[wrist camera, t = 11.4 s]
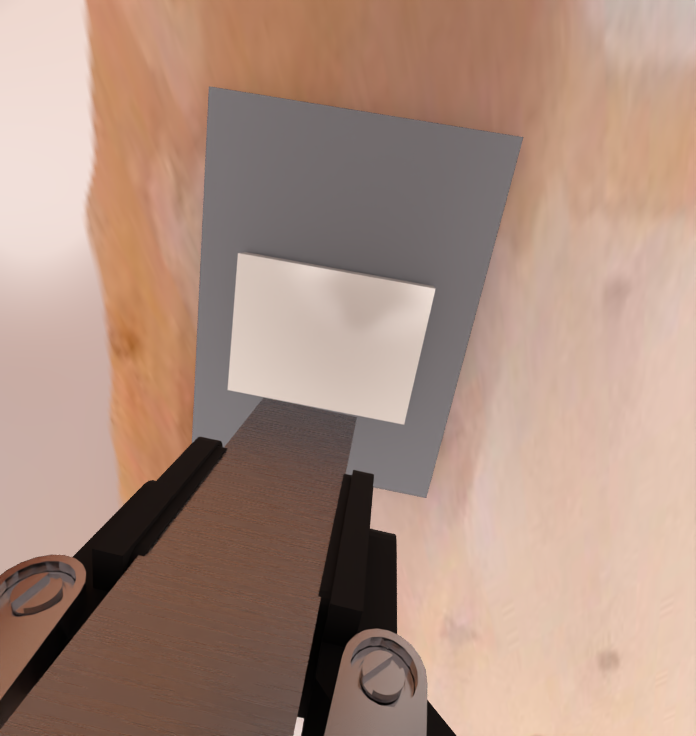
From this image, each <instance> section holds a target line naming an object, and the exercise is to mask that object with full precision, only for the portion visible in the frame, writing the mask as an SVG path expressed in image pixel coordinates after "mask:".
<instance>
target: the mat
mask: <svg viewBox="0 0 696 736" xmlns="http://www.w3.org/2000/svg"><path fill="white" fill-rule="evenodd" d="M522 140H523V137H519V136H513V135H506V134H500V133H494V132H488V131H482V130H475V129H469V128H463V127H457V126H451V125H444V124H438V123H432V122H426V121H420V120H414V119H407V118H401V117H395V116H389V115H383V114H376V113H370V112H364V111H358V110H352V109H345V108H339V107H333V106H327V105H321V104H315V103H308V102H302V101H296V100H290V99H284V98H277V97H271V96H265V95H259V94H253V93H246V92H240V91H234V90H228V89H222V88H215V87H209V96H208V117H207V138H206V159H205V180H204V201H203V222H202V243H201V264H200V285H199V307H198V328H197V349H196V370H195V391H194V412H193V433H192V443H193V442H194V441H195V440H196V439H197V438H198V437H205V438H210V439H214V440H219V441H221V442H222V445H223V447H225V445H226V444H227V443H228V442H229V440H230V439H231V438H232V437H233V435H234V434H235V433H236V432H237V430H238V429H239V428H240V427H241V425H242V424H243V423H244V422H245V420H246V419H247V418H248V416H249V415H250V414H251V413H252V411H253V410H254V409H255V408H256V406H257V405H258V404H259V403H260V401H261V400H262V399H263V398H266V397H261V396H256V395H251V394H246V393H241V392H236V391H230V390H228V378H229V365H230V351H231V338H232V325H233V312H234V299H235V285H236V272H237V259H238V253H242V252H248V253H253V254H259V255H264V256H270V257H276V258H281V259H287V260H292V261H298V262H303V263H309V264H314V265H320V266H325V267H331V268H337V269H342V270H348V271H353V272H359V273H364V274H370V275H375V276H381V277H387V278H392V279H398V280H403V281H409V282H414V283H420V284H425V285H431V286H434V287H435V294H434V298H433V302H432V307H431V311H430V315H429V319H428V324H427V328H426V332H425V337H424V341H423V345H422V350H421V354H420V358H419V362H418V367H417V371H416V375H415V380H414V384H413V388H412V392H411V397H410V401H409V405H408V410H407V414H406V418H405V423H404V425H403V424H398V423H393V422H388V421H383V420H378V419H373V418H368V417H363V416H358V415H352V414H347V413H342V412H337V411H332V410H327V409H322V408H317V407H312V406H307V405H302V404H297V403H293V404H297V405H302V406H307V407H312V408H316V409H321V410H326V411H330V412H335V413H340V414H345V415H349V416H354V417H357V420H356V425H355V430H354V435H353V440H352V445H351V450H350V455H349V460H348V465H347V470H346V474H348V475H352V472H353V470H357V471H362V472H366V473H371V474H374V483H373V487H375V488H380V489H385V490H390V491H394V492H399V493H404V494H409V495H414V496H419V497H424V498H426V497H427V493H428V489H429V486H430V482H431V478H432V474H433V471H434V467H435V463H436V460H437V456H438V452H439V448H440V445H441V441H442V437H443V434H444V430H445V426H446V422H447V419H448V415H449V411H450V408H451V404H452V400H453V396H454V393H455V389H456V385H457V382H458V378H459V374H460V370H461V367H462V363H463V359H464V356H465V352H466V348H467V345H468V341H469V337H470V333H471V330H472V326H473V322H474V319H475V315H476V311H477V307H478V304H479V300H480V296H481V293H482V289H483V285H484V281H485V278H486V274H487V270H488V267H489V263H490V259H491V255H492V252H493V248H494V244H495V241H496V237H497V233H498V229H499V226H500V222H501V218H502V215H503V211H504V207H505V203H506V200H507V196H508V192H509V189H510V185H511V181H512V177H513V174H514V170H515V166H516V163H517V159H518V155H519V151H520V148H521V144H522ZM269 399H271V398H269ZM274 400H276V399H274ZM278 401H281V400H278ZM283 402H286V401H283ZM288 403H291V402H288Z"/></svg>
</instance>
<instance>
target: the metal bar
mask: <svg viewBox="0 0 696 736" xmlns="http://www.w3.org/2000/svg"><path fill="white" fill-rule="evenodd" d="M356 420H357V417H354V416H349V415H345V414H340V413H335V412H330V411H326V410H321V409H316V408H312V407H307V406H302V405H297V404H293V403H288V402H283V401H278V400H274V399H269V398H263V399H262V400H261V401H260V403H259V404H258V405H257V406H256V408H255V409H254V410H253V411H252V413H251V414H250V415H249V416H248V418H247V419H246V420H245V422H244V423H243V424H242V425H241V427H240V428H239V429H238V430H237V432H236V433H235V434H234V435H233V437H232V438H231V439H230V440H229V442H228V443H227V444H226V445H225V447H224V448H227V450H226V451H225V453H224V454H223V455H222V456H221V458H220V459H219V460H218V462H217V463H216V464H215V465H214V467H213V468H212V469H211V471H210V472H209V473H208V475H207V476H206V477H205V478H204V480H203V481H202V482H201V484H200V485H199V486H198V487H197V489H196V490H195V491H194V493H193V494H192V495H191V497H190V498H189V499H188V500H187V502H186V503H185V504H184V506H183V507H182V508H181V510H180V511H179V512H178V513H177V515H176V516H175V517H174V519H173V520H172V521H171V522H170V524H169V525H168V526H167V528H166V529H165V530H164V532H163V533H162V534H161V535H160V537H159V538H158V539H157V541H156V542H155V543H154V545H153V546H152V547H151V548H150V550H149V551H148V552H147V554H146V555H145V556H140V555H138V556H137V558H136V559H135V560H134V561H133V563H132V564H131V565H130V567H129V568H128V569H127V570H126V572H125V573H124V574H123V575H122V577H121V578H120V579H119V580H118V582H117V583H116V584H115V585H114V587H113V588H112V589H111V590H110V592H109V593H108V594H107V596H106V597H105V598H104V599H103V601H102V602H101V603H100V604H99V606H98V607H97V608H96V609H95V611H94V612H93V613H92V614H91V616H90V617H89V618H88V620H87V621H86V622H85V623H84V625H83V626H82V627H81V628H80V630H79V631H78V632H77V633H76V635H75V636H74V637H73V638H72V640H71V641H70V642H69V643H68V645H67V646H66V647H65V649H64V650H63V651H62V652H61V654H60V655H59V656H58V657H57V659H56V660H55V661H54V662H53V664H52V665H51V666H50V667H49V669H48V670H47V671H46V672H45V674H44V675H43V676H42V678H41V679H40V680H39V681H38V683H37V684H36V685H35V686H34V688H33V689H32V690H31V691H30V693H29V694H28V695H27V696H26V698H25V699H24V700H23V701H22V703H21V704H20V705H19V707H18V708H17V709H16V710H15V712H14V713H13V714H12V715H11V717H10V718H9V719H8V720H7V722H6V723H5V724H4V725H3V727H2V728H1V729H0V736H293V735H294V730H295V725H296V720H297V715H298V710H299V705H300V700H301V695H302V690H303V685H304V680H305V675H306V670H307V665H308V660H309V655H310V650H311V645H312V640H313V635H314V630H315V625H316V620H317V615H318V610H319V605H320V600H321V597H318V594H319V590H320V585H321V580H322V575H323V571H324V566H325V561H326V556H327V551H328V547H329V542H330V537H331V532H332V528H333V523H334V518H335V513H336V508H337V504H338V499H339V494H340V489H341V485H342V480H343V475H344V474H346V470H347V465H348V460H349V455H350V450H351V445H352V440H353V435H354V430H355V425H356Z"/></svg>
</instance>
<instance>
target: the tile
mask: <svg viewBox="0 0 696 736" xmlns="http://www.w3.org/2000/svg"><path fill="white" fill-rule="evenodd" d="M434 294H435V287H434V286H431V285H425V284H420V283H414V282H409V281H403V280H398V279H392V278H387V277H381V276H375V275H370V274H364V273H359V272H353V271H348V270H342V269H337V268H331V267H325V266H320V265H314V264H309V263H303V262H298V261H292V260H287V259H281V258H276V257H270V256H264V255H259V254H253V253H248V252H242V253H238V259H237V272H236V285H235V299H234V312H233V325H232V338H231V351H230V365H229V378H228V390H230V391H236V392H241V393H246V394H251V395H256V396H261V397H266V398H271V399H276V400H281V401H286V402H291V403H297V404H302V405H307V406H312V407H317V408H322V409H327V410H332V411H337V412H342V413H347V414H352V415H358V416H363V417H368V418H373V419H378V420H383V421H388V422H393V423H398V424H403V425H404V423H405V418H406V414H407V410H408V405H409V401H410V397H411V392H412V388H413V384H414V380H415V375H416V371H417V367H418V362H419V358H420V354H421V350H422V345H423V341H424V337H425V332H426V328H427V324H428V319H429V315H430V311H431V307H432V302H433V298H434Z"/></svg>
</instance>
